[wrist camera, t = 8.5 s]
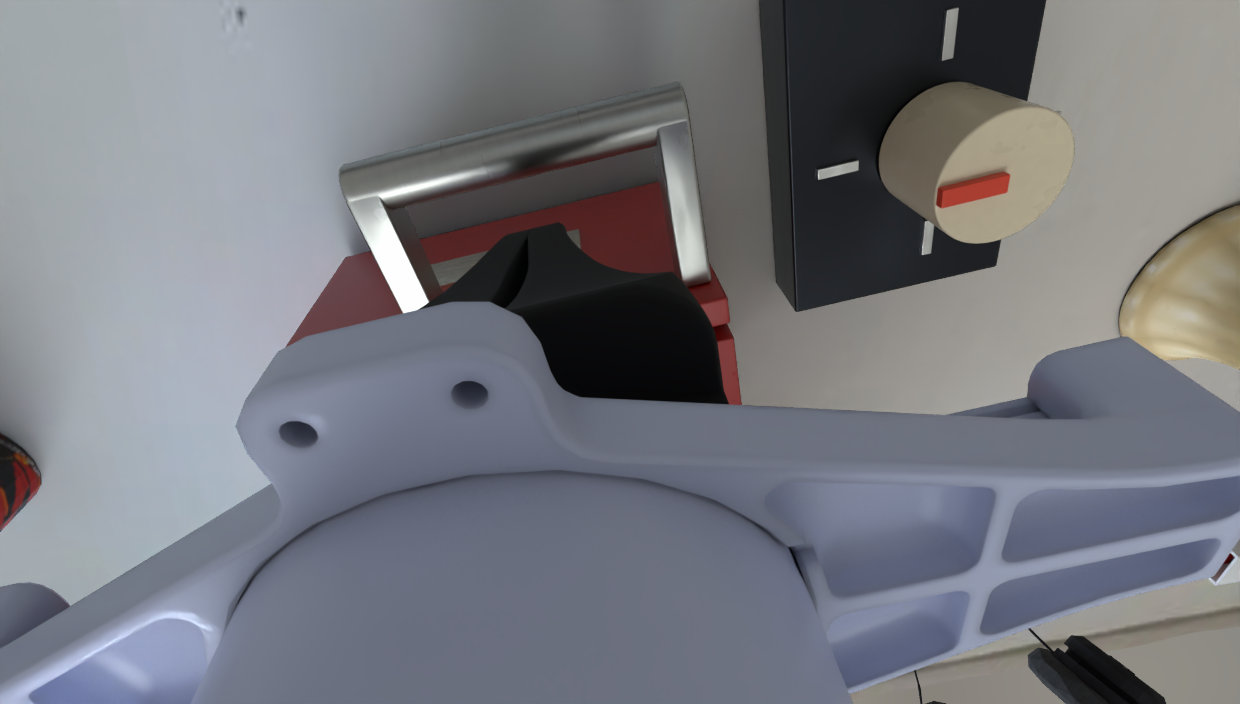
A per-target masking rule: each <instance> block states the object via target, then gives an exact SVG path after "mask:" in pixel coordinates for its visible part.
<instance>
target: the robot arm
mask: <svg viewBox="0 0 1240 704" xmlns="http://www.w3.org/2000/svg"><path fill="white" fill-rule="evenodd" d="M236 428H237V430H238V433H239V435H240V437H241V440H242V442H243V444H244V447H245V449H246V451H247V454H248V455H249V456H250V457H251V459H252V460H253V461H254V462H255V463H256V465H257V466H258V467H259V468H260V469H261V471H262V472H263V473H264V474H265V475H266V476H267V478H268V479H269V480H270V481H271V483H272V484H270V485H268V486H267V487H265V488H263V489H262V490H260V491H258V492H257V493H255V494H254V495H252V496H250V497H249V498H247V499H245V500H244V501H242V502H240V503H239V504H237V505H236V506H234V507H232V508H231V509H229V510H227V511H226V512H224V513H222V514H221V515H219V516H218V517H216V518H214V519H213V520H211V521H209V522H208V523H206V524H204V525H203V526H201V527H200V528H198V529H196V530H195V531H193V532H191V533H190V534H188V535H186V536H185V537H183V538H181V539H180V540H178V541H177V542H175V543H173V544H172V545H170V546H168V547H167V548H165V549H163V550H162V551H160V552H159V553H157V554H155V555H154V556H152V557H150V558H149V559H147V560H145V561H144V562H142V563H141V564H139V565H137V566H136V567H134V568H132V569H131V570H129V571H127V572H126V573H124V574H123V575H121V576H119V577H118V578H116V579H114V580H113V581H111V582H109V583H108V584H106V585H104V586H103V587H101V588H100V589H98V590H96V591H95V592H93V593H91V594H90V595H88V596H86V597H85V598H83V599H82V600H80V601H78V602H77V603H75V604H73V605H72V606H70V605H69V603H68V602H67V601H66V600H65V599H63V598H62V597H61V596H60V595H59V594H57V593H56V592H55V591H53V590H52V589H49V588H47V587H45V586H43V585H40V584H35V583H17V584H12V585H7V586H3V587H0V704H853V702H852V700H851V697H850V695H849V694H851V693H854V692H856V691H859V690H862V689H865V688H867V687H870V686H873V685H876V684H878V683H881V682H884V681H887V680H889V679H892V678H895V677H897V676H900V675H903V674H906V673H908V672H911V671H914V670H917V669H919V668H922V667H925V666H928V665H930V664H933V663H936V662H939V661H941V660H944V659H947V658H949V657H952V656H955V655H958V654H960V653H963V652H966V651H969V650H971V649H974V648H977V647H980V646H982V645H985V644H988V643H991V642H993V641H996V640H999V639H1001V638H1004V637H1007V636H1010V635H1012V634H1015V633H1018V632H1021V631H1023V630H1026V629H1029V628H1032V627H1035V626H1038V625H1041V624H1043V623H1046V622H1049V621H1052V620H1055V619H1058V618H1061V617H1064V616H1067V615H1070V614H1073V613H1076V612H1079V611H1082V610H1085V609H1088V608H1092V607H1095V606H1099V605H1102V604H1106V603H1109V602H1113V601H1116V600H1120V599H1123V598H1127V597H1130V596H1134V595H1137V594H1141V593H1145V592H1149V591H1153V590H1158V589H1162V588H1166V587H1171V586H1175V585H1179V584H1184V583H1188V582H1192V581H1196V580H1201V579H1206V578H1210V577H1213V576H1214V575H1216V573H1217V572H1218V570H1219V569H1220V567H1221V566H1222V564H1223V563H1224V561H1225V560H1226V558H1227V557H1228V555H1229V554H1230V552H1231V551H1232V550H1233V548H1234V547H1235V545H1236V544H1237V542H1238V541H1239V539H1240V412H1239V411H1237V410H1236V409H1234V408H1233V407H1232V406H1230V405H1229V404H1227V403H1226V402H1224V401H1223V400H1221V399H1220V398H1218V397H1217V396H1215V395H1214V394H1212V393H1211V392H1209V391H1208V390H1206V389H1205V388H1203V387H1202V386H1200V385H1199V384H1197V383H1196V382H1194V381H1193V380H1192V379H1190V378H1189V377H1187V376H1186V375H1184V374H1183V373H1181V372H1180V371H1178V370H1177V369H1175V368H1174V367H1172V366H1171V365H1169V364H1168V363H1166V362H1165V361H1163V360H1162V359H1160V358H1159V357H1157V356H1156V355H1155V354H1153V353H1152V352H1150V351H1149V350H1147V349H1146V348H1144V347H1143V346H1141V345H1140V344H1138V343H1137V342H1135V341H1134V340H1132V339H1131V338H1129V337H1119V338H1115V339H1111V340H1106V341H1102V342H1097V343H1093V344H1088V345H1084V346H1079V347H1075V348H1070V349H1066V350H1061V351H1057V352H1055V353H1052V354H1050V355H1048V356H1046V357H1045V358H1043V359H1042V360H1041V361H1040V362H1039V363H1037V364H1036V366H1035V368H1034V370H1033V372H1032V373H1031V376H1030V380H1029V383H1028V394H1027V397H1025V398H1021V399H1016V400H1012V401H1007V402H1003V403H998V404H994V405H989V406H985V407H980V408H975V409H971V410H966V411H962V412H957V413H953V414H948V415H934V414H913V413H893V412H872V411H852V410H832V409H811V408H791V407H770V406H750V405H729V402H728V400H727V397H726V394H725V392H724V387H723V379H722V372H721V365H720V358H719V350H718V343H717V339H716V335H715V332H714V329H713V327H712V324H711V322H710V320H709V318H708V316H707V315H706V313H705V311H704V310H703V308H702V307H701V305H700V304H699V302H698V301H697V300H696V298H695V297H694V296H693V294H692V293H691V292H690V290H689V289H688V288H687V287H686V286H685V284H684V283H683V282H682V281H681V280H680V279H679V278H678V277H677V275H676V274H674V273H673V272H659V273H635V272H627V271H622V270H618V269H614V268H611V267H608V266H605V265H603V264H601V263H599V262H597V261H595V260H594V259H592V258H591V257H590V256H588V255H587V254H586V253H584V252H583V251H582V250H581V249H580V248H579V247H578V246H577V245H576V244H575V243H574V242H573V241H572V240H571V239H570V237H569V236H568V234H567V231H566V228H565V226H564V225H563V224H561V223H560V222H557V223H553V224H548V225H544V226H540V227H536V228H532V229H528V230H524V231H519V232H515V233H511V234H507V235H505V236H504V237H503V238H501V239H500V240H499V241H498V242H497V243H496V244H495V245H494V246H493V247H492V248H491V249H490V250H489V251H488V252H487V253H486V254H485V255H484V256H483V257H482V258H481V259H480V260H479V261H478V262H477V263H476V264H475V265H474V266H473V267H472V268H471V269H470V270H469V271H467V272H466V273H465V274H464V275H463V276H462V277H461V278H460V279H459V280H457V281H456V282H455V283H454V284H453V285H452V286H451V287H449V288H448V289H447V290H446V291H444V292H443V293H442V294H440V295H439V296H437V297H436V298H435V299H433V300H432V301H430V302H429V303H427V304H426V305H424V306H423V307H421V308H420V309H418V310H415V311H411V312H407V313H403V314H399V315H394V316H390V317H386V318H382V319H377V320H373V321H369V322H365V323H361V324H356V325H352V326H348V327H344V328H339V329H335V330H331V331H327V332H322V333H318V334H314V335H310V336H306V337H304V338H302V339H300V340H298V341H297V342H295V343H293V344H291V345H289V346H287V347H286V348H284V349H282V350H280V351H278V353H277V354H276V355H275V357H274V358H273V360H272V361H271V363H270V364H269V366H268V367H267V369H266V370H265V372H264V373H263V375H262V376H261V378H260V379H259V381H258V382H257V384H256V385H255V387H254V388H253V390H252V391H251V392H250V394H249V395H248V397H247V398H246V400H245V403H244V405H243V408H242V410H241V413H240V416H239V418H238V421H237V424H236Z"/></svg>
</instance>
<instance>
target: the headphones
mask: <svg viewBox="0 0 1240 704" xmlns="http://www.w3.org/2000/svg"><path fill="white" fill-rule="evenodd" d="M1029 630H1030V632H1031V633H1032V634H1033V635H1034V636H1035V637H1036V638H1037V639H1038V640H1039V641H1040V642H1041V643H1042V644H1043V645H1044V646H1045V647H1046V648H1048V649H1049V650H1050V651H1051V652H1050V651H1049V650H1047V649H1043V648H1037V649H1035V650H1034V651H1033V652H1031V653H1030V654H1029V655H1028V666H1029V668H1030V669H1031V670H1032V671H1033V672H1034V674H1035V675H1036V676H1037V677H1038V678H1039V679H1040V680H1041V682H1042V683H1043V684H1044V685H1045V686H1046V687H1048V688H1049V689H1050V690H1051V691H1052V692H1053V693H1054V694H1055V695H1057V696H1058V697H1059V698H1060V699H1061V700H1062V701H1063V702H1064V703H1066V704H1166V702H1165V699H1164V697H1162V696H1161V695H1160V694H1159V693H1157V692H1156V691H1155V690H1153V689H1152V688H1151V687H1149V686H1148V685H1147V684H1145V683H1144V682H1143V681H1141V680H1140V679H1139V678H1138V677H1136V676H1135V674H1134V673H1133V672H1131V671H1130V670H1129V669H1127V668H1126V667H1125V666H1123V665H1122V664H1121V663H1120V662H1118V661H1117V660H1116V659H1114V658H1113V657H1112V656H1109V655H1107V654H1106V653H1105V652H1103V651H1102V650H1101V649H1099V648H1098V647H1097V646H1095V645H1094V644H1093V643H1091V642H1090V641H1089V640H1087V639H1086V638H1085V637H1083V636H1073V635H1071V636H1070V637H1069V638H1068V639H1067V641H1066V642H1065V643H1064V644H1065V645H1066V646H1068V647H1069V648H1068V650H1067V651H1066V652H1065V653H1064V652H1063V651H1062V650H1060V649H1059V648H1057V649H1056V650H1055V651H1053V650H1052V649H1051V648H1050V647H1049V646H1048V645H1047V644H1046V643H1044V642H1043V641H1042V640H1041V639H1040V638H1039V637H1038V636H1037V635H1036V634H1035V633H1034V632H1033V631H1032V630H1031V629H1030V628H1029ZM914 672H915V676H916V680H917V683H918V690H919V696H920V703H921V704H922V697H921V688H920V685H919V681H918V677H917V674H916V670H914ZM927 704H946V703H941V702H936V701H933V702H929V703H927Z"/></svg>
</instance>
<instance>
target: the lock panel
mask: <svg viewBox="0 0 1240 704" xmlns="http://www.w3.org/2000/svg"><path fill="white" fill-rule="evenodd" d="M759 4H760V21H761V37H762V54H763V70H764V87H765V103H766V120H767V137H768V153H769V170H770V186H771V203H772V219H773V236H774V252H775V269H776V283H777V285H778V286H779V288H780V289H781V291H782V292H783V293H784V295H785V296H786V298H787V299H788V301H789V302H790V304H791V305H792V307H793V308H794V310H795V311H796V312H799V311H803V310H808V309H812V308H816V307H821V306H825V305H829V304H834V303H838V302H842V301H847V300H851V299H855V298H860V297H864V296H868V295H873V294H877V293H881V292H886V291H890V290H894V289H899V288H903V287H907V286H912V285H916V284H920V283H925V282H929V281H933V280H938V279H942V278H946V277H951V276H955V275H959V274H964V273H968V272H972V271H977V270H981V269H985V268H990V267H994V266H996V264H997V259H998V253H999V248H1000V243H1001V239H1000V240H997V241H993V242H988V243H977V244H976V243H966V242H961V241H958V240H956V239H954V238H952V237H950V236H949V235H947V234H946V233H945V232H943V231H942V230H940V229H939V228H938V227H936V226H935V225H933V224H932V223H931V222H929V221H928V220H926V219H925V218H924V217H922V216H921V215H920V214H918V213H917V212H915V211H914V210H913V209H911V208H910V207H908V206H907V205H906V204H904V203H903V202H901V201H900V200H899V199H897V198H896V197H895V196H893V195H892V194H891V193H890V192H889V191H888V190H887V188H886V187H885V185H884V183H883V182H882V179H881V176H880V170H879V154H880V149H881V144H882V142H883V139H884V136H885V134H886V132H887V130H888V128H889V126H890V125H891V123H892V121H893V120H894V119H895V117H896V116H897V115H898V113H899V112H900V111H901V110H902V109H903V108H904V107H905V106H906V105H907V104H908V103H909V102H910V101H911V100H913V99H914V98H915V97H917V96H918V95H920V94H921V93H923V92H925V91H926V90H928V89H931V88H933V87H935V86H938V85H941V84H944V83H950V82H967V83H971V84H974V85H977V86H980V87H984V88H987V89H990V90H993V91H996V92H999V93H1002V94H1005V95H1009V96H1012V97H1015V98H1018V99H1021V100H1024V101H1027V100H1028V94H1029V89H1030V84H1031V78H1032V73H1033V68H1034V62H1035V57H1036V52H1037V47H1038V41H1039V36H1040V31H1041V25H1042V20H1043V15H1044V9H1045V4H1046V0H759ZM1055 112H1057V113H1058V114H1060V115H1061V111H1055Z"/></svg>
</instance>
